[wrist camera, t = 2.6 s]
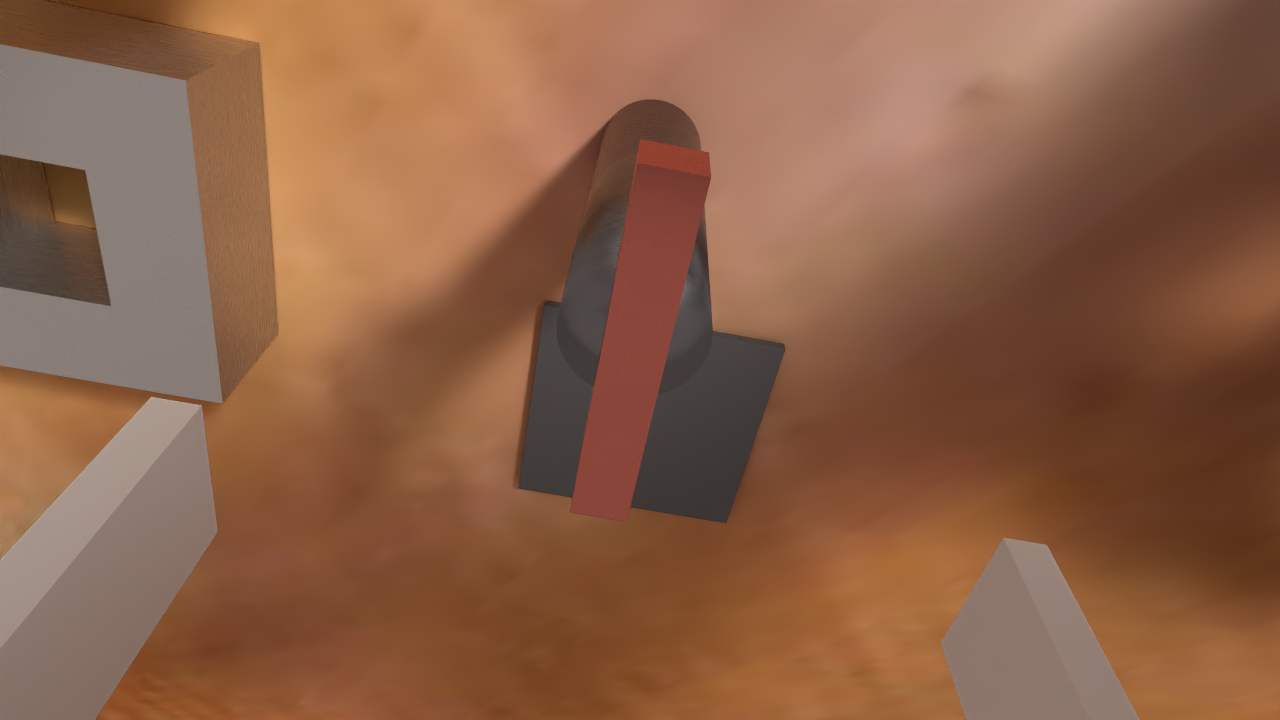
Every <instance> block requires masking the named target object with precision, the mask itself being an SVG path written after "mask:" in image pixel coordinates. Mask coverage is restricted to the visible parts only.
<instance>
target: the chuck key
mask: <svg viewBox="0 0 1280 720" xmlns="http://www.w3.org/2000/svg"><path fill="white" fill-rule="evenodd" d="M710 179H711V172H710V161H709V152H704V151H701V146H700V139H699V134H698V132H697V129H696V127H695V125H694V123H693V122H692V120H691V119H690V118H689V117H688V116H687V115H686V113H685V112H683V111H682V110H681V109H679V108H678V107H676V106H674V105H673V104H670V103H668V102H664V101H661V100H641V101H637V102H634V103H632V104H629V105H627V106H626V107H624V108H622V109H621V110H620V111H618V112H617V113H616V114H615V115H614V116H613V118H612V119H611V120H610V122H609V123H608V125H607V127H606V129H605V132H604V135H603V139H602V143H601V146H600V150H599V154H598V158H597V162H596V166H595V170H594V174H593V178H592V182H591V186H590V190H589V194H588V198H587V202H586V206H585V210H584V214H583V218H582V222H581V226H580V230H579V234H578V238H577V242H576V246H575V250H574V254H573V258H572V261H571V265H570V269H569V273H568V277H567V281H566V285H565V289H564V293H563V297H562V301H561V305H560V309H559V313H558V318H557V326H556V331H557V340H558V344H559V347H560V350H561V353H562V355H563V357H564V358H565V360H566V362H567V363H568V365H569V366H570V367H571V369H572V370H573V371H574V372H575V373H576V374H577V375H578V376H579V377H580V378H582V379H583V380H584V381H585V382H587V383H588V384H590V385H592V386H593V390H592V396H591V401H590V406H589V411H588V417H587V422H586V427H585V432H584V437H583V443H582V448H581V453H580V458H579V464H578V469H577V474H576V480H575V487H574V493H573V499H572V505H571V511H570V512H572V513H578V514H584V515H590V516H596V517H602V518H608V519H614V520H620V521H626V522H627V518H628V514H629V509H630V505H631V501H632V497H633V493H634V489H635V485H636V481H637V477H638V473H639V469H640V465H641V461H642V456H643V452H644V448H645V444H646V440H647V436H648V432H649V428H650V424H651V420H652V416H653V412H654V408H655V403H656V399H657V395H660V394H663V393H666V392H669V391H671V390H673V389H676V388H678V387H679V386H681V385H682V384H684V383H686V382H687V381H688V380H689V379H691V378H692V377H693V376H694V375H695V374H696V373H697V372H698V370H699V369H700V368H701V366H702V365H703V364H704V362H705V360H706V358H707V356H708V353H709V351H710V348H711V343H712V333H713V328H712V313H711V298H710V283H709V267H708V252H707V237H706V222H705V206H704V204H705V200H706V195H707V191H708V187H709V183H710Z"/></svg>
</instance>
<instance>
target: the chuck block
mask: <svg viewBox="0 0 1280 720" xmlns="http://www.w3.org/2000/svg"><path fill="white" fill-rule="evenodd" d="M42 162H44V163H50V164H55V165H60V166H66V167H71V168H76V169H82V170H85V172H86V177H87V182H88V187H89V193H90V198H91V203H92V208H93V214H94V219H95V224H96V229H93V228H87V227H82V226H76V225H71V224H65V223H60V222H55V217H54V213H53V208H52V204H51V199H50V195H49V190H48V186H47V181H46V177H45V172H44V168H43V163H42ZM277 335H278V327H277V312H276V296H275V281H274V266H273V250H272V235H271V220H270V204H269V189H268V173H267V158H266V143H265V127H264V112H263V96H262V81H261V66H260V50H259V43H254V42H249V41H244V40H239V39H234V38H229V37H224V36H219V35H214V34H209V33H204V32H199V31H194V30H189V29H184V28H179V27H174V26H169V25H164V24H159V23H154V22H149V21H144V20H139V19H134V18H129V17H124V16H119V15H114V14H109V13H104V12H99V11H94V10H89V9H84V8H79V7H74V6H69V5H64V4H59V3H54V2H49V1H44V0H0V366H5V367H11V368H17V369H23V370H29V371H34V372H40V373H46V374H52V375H58V376H64V377H70V378H75V379H81V380H87V381H93V382H99V383H105V384H111V385H116V386H122V387H128V388H134V389H140V390H146V391H152V392H157V393H163V394H169V395H175V396H181V397H187V398H193V399H198V400H204V401H210V402H216V403H222V404H223V403H224V401H225V400H226V399H227V398H228V396H229V395H230V394H231V393H232V391H233V390H234V389H235V388H236V386H237V385H238V384H239V383H240V381H241V380H242V379H243V378H244V376H245V375H246V374H247V373H248V371H249V370H250V369H251V368H252V366H253V365H254V364H255V363H256V361H257V360H258V359H259V358H260V356H261V355H262V354H263V353H264V351H265V350H266V349H267V348H268V346H269V345H270V344H271V343H272V341H273V340H274V339H275V338H276V336H277Z"/></svg>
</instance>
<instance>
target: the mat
mask: <svg viewBox="0 0 1280 720" xmlns="http://www.w3.org/2000/svg"><path fill="white" fill-rule="evenodd" d="M560 305H561V303H556V302H551V301H546V302H545V305H544V312H543V319H542V326H541V333H540V340H539V347H538V354H537V361H536V368H535V375H534V383H533V390H532V397H531V404H530V411H529V418H528V425H527V432H526V439H525V446H524V453H523V460H522V467H521V475H520V482H519V488H521V489H527V490H533V491H539V492H544V493H550V494H556V495H562V496H568V497H573V493H574V487H575V480H576V474H577V469H578V464H579V458H580V453H581V448H582V443H583V437H584V432H585V427H586V422H587V417H588V411H589V406H590V401H591V396H592V390H593V386H592V385H590V384H588V383H587V382H585V381H584V380H583V379H582V378H580V377H579V376H578V375H577V374H576V373H575V372H574V371H573V370H572V369H571V367H570V366H569V365H568V363H567V362H566V360H565V358H564V357H563V355H562V353H561V350H560V347H559V344H558V340H557V331H556V326H557V318H558V313H559V309H560ZM784 351H785V346H784V344H780V343H774V342H769V341H763V340H758V339H752V338H747V337H742V336H736V335H731V334H725V333H720V332H714V331H713V333H712V343H711V348H710V351H709V353H708V356H707V358H706V360H705V362H704V364H703V365H702V366H701V368H700V369H699V370H698V372H697V373H696V374H695V375H694V376H693V377H692V378H691V379H689V380H688V381H687V382H686V383H684V384H682V385H681V386H679V387H678V388H676V389H673V390H671V391H669V392H666V393H663V394H660V395H657V399H656V403H655V408H654V412H653V416H652V420H651V424H650V428H649V432H648V436H647V440H646V444H645V448H644V452H643V456H642V461H641V465H640V469H639V473H638V477H637V481H636V485H635V489H634V493H633V497H632V501H631V505H630V507H634V508H640V509H646V510H652V511H658V512H664V513H670V514H675V515H681V516H687V517H693V518H699V519H705V520H711V521H717V522H723V523H727V520H728V517H729V514H730V511H731V508H732V505H733V502H734V499H735V496H736V493H737V490H738V487H739V484H740V482H741V479H742V476H743V473H744V470H745V467H746V464H747V461H748V458H749V455H750V452H751V449H752V446H753V443H754V440H755V437H756V434H757V431H758V428H759V425H760V422H761V419H762V416H763V413H764V410H765V408H766V405H767V402H768V399H769V396H770V393H771V390H772V387H773V384H774V381H775V378H776V375H777V372H778V369H779V366H780V363H781V360H782V357H783V354H784Z"/></svg>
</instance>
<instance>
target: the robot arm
mask: <svg viewBox="0 0 1280 720" xmlns="http://www.w3.org/2000/svg"><path fill="white" fill-rule="evenodd" d="M217 532H218V529H217V521H216V513H215V505H214V497H213V490H212V482H211V474H210V466H209V458H208V450H207V443H206V435H205V427H204V419H203V411H202V405H198V404H191V403H185V402H179V401H173V400H167V399H161V398H155V397H151V398H150V399H149V400H148V401H147V402H146V403H145V404H144V405H143V406H142V407H141V408H140V409H139V411H138V412H137V413H136V414H135V415H134V416H133V417H132V418H131V419H130V420H129V421H128V422H127V423H126V425H125V426H124V427H123V428H122V429H121V430H120V431H119V432H118V433H117V434H116V435H115V436H114V437H113V439H112V440H111V441H110V442H109V443H108V444H107V445H106V446H105V447H104V448H103V449H102V450H101V451H100V452H99V454H98V455H97V456H96V457H95V458H94V459H93V460H92V461H91V462H90V463H89V464H88V465H87V466H86V468H85V469H84V470H83V471H82V472H81V473H80V474H79V475H78V476H77V477H76V478H75V479H74V480H73V482H72V483H71V484H70V485H69V486H68V487H67V488H66V489H65V490H64V491H63V492H62V493H61V494H60V496H59V497H58V498H57V499H56V500H55V501H54V502H53V503H52V504H51V505H50V506H49V507H48V508H47V510H46V511H45V512H44V513H43V514H42V515H41V516H40V517H39V518H38V519H37V520H36V521H35V522H34V523H33V525H32V526H31V527H30V528H29V529H28V530H27V531H26V532H25V533H24V534H23V535H22V536H21V537H20V539H19V540H18V541H17V542H16V543H15V544H14V545H13V546H12V547H11V548H10V549H9V550H8V551H7V553H6V554H5V555H4V556H3V557H2V558H1V559H0V720H95V719H96V717H97V716H98V714H99V713H100V711H101V710H102V708H103V707H104V705H105V704H106V702H107V700H108V699H109V697H110V696H111V694H112V693H113V691H114V690H115V688H116V687H117V685H118V684H119V682H120V681H121V679H122V678H123V676H124V674H125V673H126V671H127V670H128V668H129V667H130V665H131V664H132V662H133V661H134V659H135V658H136V656H137V655H138V653H139V652H140V650H141V648H142V647H143V645H144V644H145V642H146V641H147V639H148V638H149V636H150V635H151V633H152V632H153V630H154V629H155V627H156V625H157V624H158V622H159V621H160V619H161V618H162V616H163V615H164V613H165V612H166V610H167V609H168V607H169V606H170V604H171V603H172V601H173V599H174V598H175V596H176V595H177V593H178V592H179V590H180V589H181V587H182V586H183V584H184V583H185V581H186V580H187V578H188V577H189V575H190V573H191V572H192V570H193V569H194V567H195V566H196V564H197V563H198V561H199V560H200V558H201V557H202V555H203V554H204V552H205V550H206V549H207V547H208V546H209V544H210V543H211V541H212V540H213V538H214V537H215V535H216V534H217ZM941 646H942V649H943V652H944V655H945V658H946V661H947V664H948V667H949V670H950V673H951V676H952V679H953V682H954V685H955V688H956V691H957V694H958V697H959V700H960V703H961V706H962V709H963V712H964V715H965V718H966V720H1139V718H1138V716H1137V714H1136V712H1135V710H1134V708H1133V707H1132V705H1131V703H1130V701H1129V699H1128V697H1127V695H1126V693H1125V691H1124V690H1123V688H1122V686H1121V684H1120V682H1119V680H1118V678H1117V676H1116V674H1115V673H1114V671H1113V669H1112V667H1111V665H1110V663H1109V661H1108V659H1107V657H1106V656H1105V654H1104V652H1103V650H1102V648H1101V646H1100V644H1099V642H1098V641H1097V639H1096V637H1095V635H1094V633H1093V631H1092V629H1091V627H1090V625H1089V624H1088V622H1087V620H1086V618H1085V616H1084V614H1083V612H1082V610H1081V608H1080V607H1079V605H1078V603H1077V601H1076V599H1075V597H1074V595H1073V593H1072V591H1071V590H1070V588H1069V586H1068V584H1067V582H1066V580H1065V578H1064V576H1063V574H1062V573H1061V571H1060V569H1059V567H1058V565H1057V563H1056V561H1055V559H1054V558H1053V556H1052V554H1051V552H1050V550H1049V548H1048V546H1047V545H1045V544H1039V543H1033V542H1027V541H1021V540H1015V539H1009V538H1003V539H1002V541H1001V543H1000V544H999V546H998V548H997V549H996V551H995V553H994V554H993V556H992V558H991V559H990V561H989V563H988V564H987V566H986V568H985V569H984V571H983V573H982V574H981V576H980V578H979V580H978V581H977V583H976V585H975V586H974V588H973V590H972V591H971V593H970V595H969V596H968V598H967V600H966V601H965V603H964V605H963V606H962V608H961V610H960V611H959V613H958V615H957V617H956V618H955V620H954V622H953V623H952V625H951V627H950V628H949V630H948V632H947V633H946V635H945V637H944V638H943V640H942V642H941Z"/></svg>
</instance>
